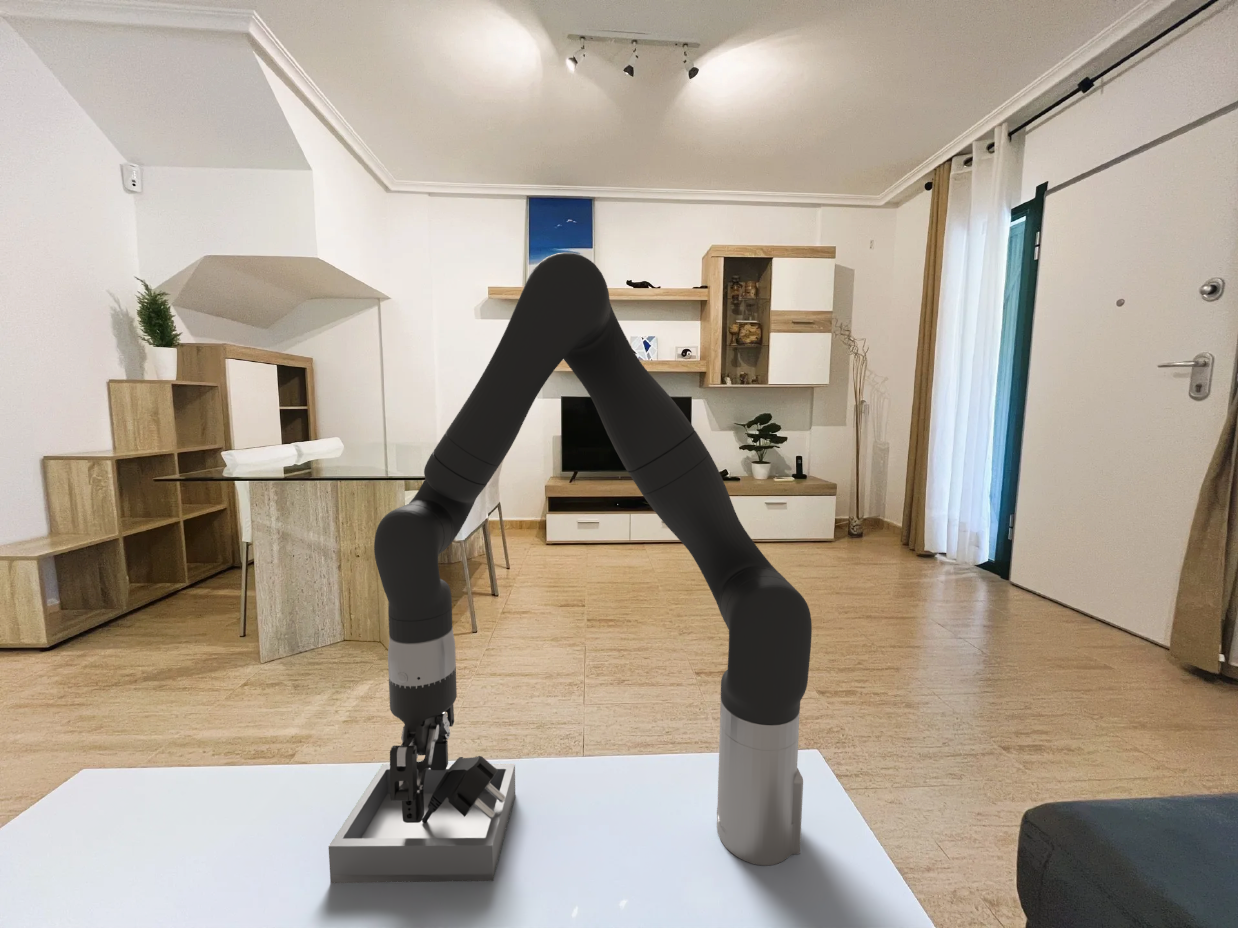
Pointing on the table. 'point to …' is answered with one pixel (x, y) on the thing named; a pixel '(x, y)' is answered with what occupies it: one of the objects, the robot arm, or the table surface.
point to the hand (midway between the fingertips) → (427, 792)
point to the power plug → (465, 787)
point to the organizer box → (421, 836)
